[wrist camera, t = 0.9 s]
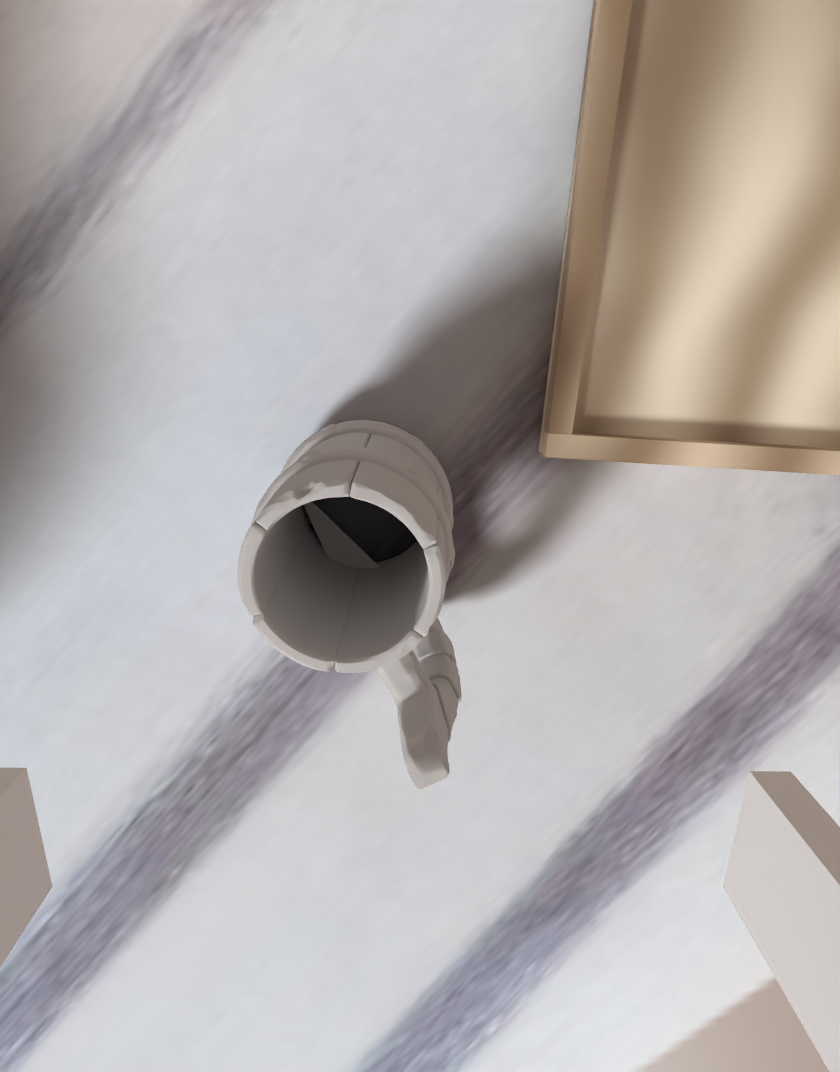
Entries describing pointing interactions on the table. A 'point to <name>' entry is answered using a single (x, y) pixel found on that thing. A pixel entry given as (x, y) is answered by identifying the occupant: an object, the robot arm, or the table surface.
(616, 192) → the square serving tray
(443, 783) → the table surface
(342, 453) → the mug
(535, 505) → the table surface
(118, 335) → the table surface
